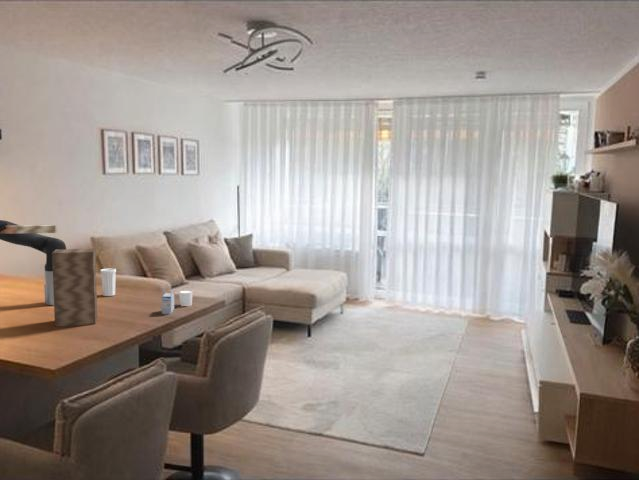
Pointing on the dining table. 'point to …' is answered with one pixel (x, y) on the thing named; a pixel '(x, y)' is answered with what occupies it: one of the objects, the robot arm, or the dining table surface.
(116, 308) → the dining table surface
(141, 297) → the dining table surface
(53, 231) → the wooden block
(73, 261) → the walnut pillar
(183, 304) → the white tub
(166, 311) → the medicine box
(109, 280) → the cup
